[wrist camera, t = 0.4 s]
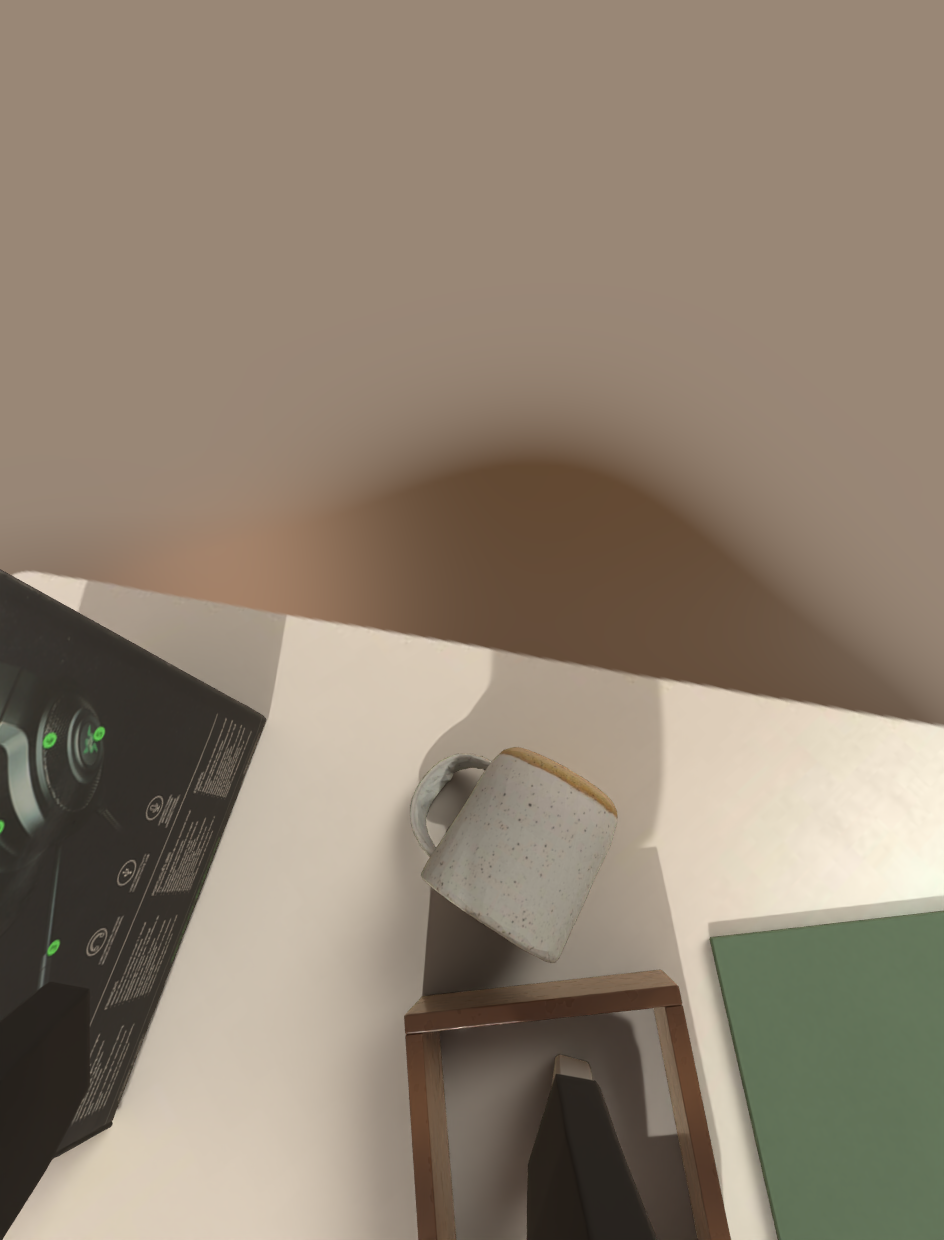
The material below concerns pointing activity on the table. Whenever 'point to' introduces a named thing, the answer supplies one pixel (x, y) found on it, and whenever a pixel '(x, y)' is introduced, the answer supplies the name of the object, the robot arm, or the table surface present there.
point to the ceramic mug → (518, 845)
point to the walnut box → (545, 1005)
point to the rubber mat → (843, 1072)
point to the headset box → (104, 821)
